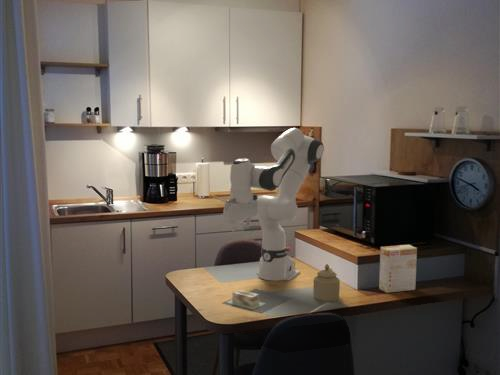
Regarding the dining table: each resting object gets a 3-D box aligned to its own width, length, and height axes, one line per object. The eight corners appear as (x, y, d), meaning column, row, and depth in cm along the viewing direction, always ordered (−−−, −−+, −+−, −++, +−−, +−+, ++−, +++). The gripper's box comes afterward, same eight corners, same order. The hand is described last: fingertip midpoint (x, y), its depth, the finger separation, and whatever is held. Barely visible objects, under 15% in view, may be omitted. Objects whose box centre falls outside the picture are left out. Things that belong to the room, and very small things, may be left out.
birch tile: (259, 303, 235) (259, 294, 234) (251, 307, 231) (252, 297, 230) (239, 298, 241) (239, 289, 240) (232, 301, 237) (232, 292, 236)
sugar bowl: (307, 291, 253) (308, 258, 251) (331, 290, 255) (332, 257, 253) (317, 303, 239) (318, 268, 237) (342, 301, 241) (344, 266, 239)
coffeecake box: (406, 285, 264) (408, 244, 261) (415, 290, 257) (418, 247, 254) (378, 288, 259) (379, 246, 256) (386, 293, 252) (388, 250, 250)
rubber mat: (255, 290, 255) (255, 288, 255) (293, 299, 243) (293, 297, 243) (221, 304, 236) (221, 302, 236) (261, 314, 224) (261, 313, 224)
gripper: (231, 201, 232) (231, 234, 233) (260, 195, 248) (260, 226, 250) (219, 199, 235) (219, 232, 237) (248, 194, 252) (248, 224, 254)
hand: (240, 229), depth 244 cm, fingers open, 8 cm apart
